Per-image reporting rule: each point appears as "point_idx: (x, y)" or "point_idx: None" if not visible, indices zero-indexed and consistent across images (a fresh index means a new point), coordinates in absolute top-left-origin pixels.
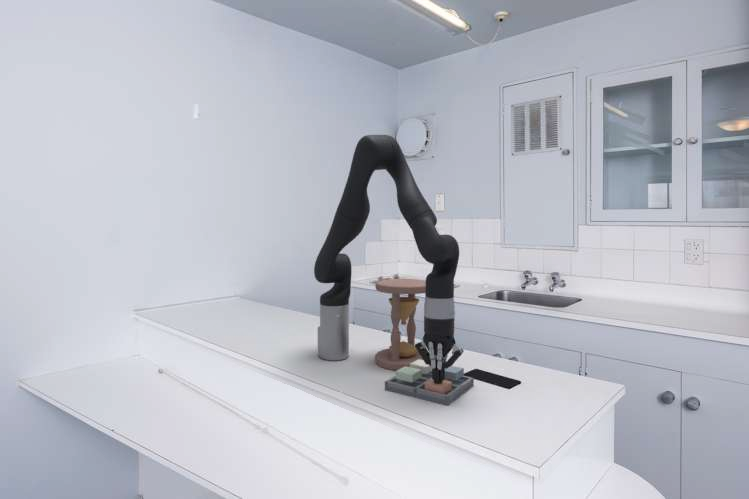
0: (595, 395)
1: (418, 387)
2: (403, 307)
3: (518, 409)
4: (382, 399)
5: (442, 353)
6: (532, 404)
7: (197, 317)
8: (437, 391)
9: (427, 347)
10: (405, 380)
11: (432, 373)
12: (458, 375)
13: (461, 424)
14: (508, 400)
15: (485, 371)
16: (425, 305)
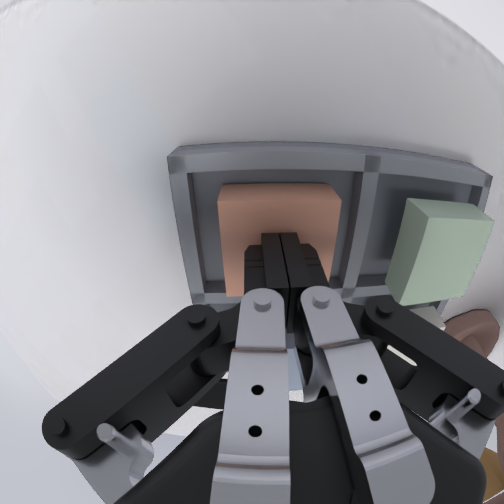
0: (42, 375)
1: (364, 181)
2: (491, 481)
3: (32, 269)
4: (448, 69)
5: (223, 427)
6: (42, 310)
7: None
8: (252, 188)
9: (428, 429)
10: (438, 202)
11: (319, 268)
12: None
13: (59, 46)
14: (79, 308)
15: None
16: None
